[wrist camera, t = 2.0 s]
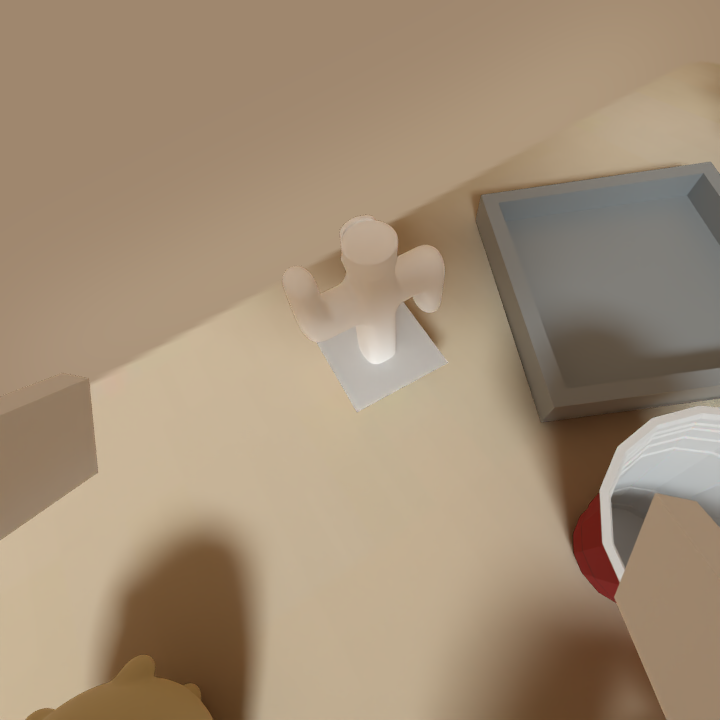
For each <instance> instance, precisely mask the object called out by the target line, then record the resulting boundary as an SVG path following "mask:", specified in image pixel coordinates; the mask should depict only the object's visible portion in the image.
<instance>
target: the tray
mask: <svg viewBox="0 0 720 720" xmlns="http://www.w3.org/2000/svg"><path fill="white" fill-rule="evenodd" d="M476 223H477V226H478V229H479V232H480V235H481V238H482V241H483V245H484V248H485V251H486V254H487V257H488V260H489V263H490V266H491V269H492V272H493V275H494V279H495V282H496V285H497V288H498V291H499V294H500V297H501V300H502V303H503V306H504V309H505V313H506V316H507V319H508V322H509V325H510V328H511V331H512V334H513V337H514V340H515V343H516V347H517V350H518V353H519V356H520V359H521V362H522V365H523V368H524V371H525V374H526V377H527V381H528V384H529V387H530V390H531V393H532V396H533V399H534V402H535V405H536V408H537V412H538V415H539V418H540V421H541V422H547V421H555V420H562V419H570V418H577V417H585V416H592V415H599V414H607V413H614V412H622V411H629V410H637V409H644V408H652V407H659V406H667V405H674V404H681V403H689V402H696V401H704V400H711V399H719V398H720V174H719V172H718V171H717V170H716V168H715V167H714V165H713V164H712V163H711V162H706V163H699V164H692V165H685V166H678V167H671V168H664V169H657V170H650V171H643V172H636V173H630V174H623V175H616V176H609V177H602V178H595V179H588V180H581V181H574V182H567V183H560V184H554V185H547V186H540V187H533V188H526V189H519V190H512V191H505V192H498V193H491V194H484V195H481V198H480V203H479V207H478V212H477V217H476Z"/></svg>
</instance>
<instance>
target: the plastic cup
mask: <svg viewBox="0 0 720 720" xmlns="http://www.w3.org/2000/svg"><path fill="white" fill-rule="evenodd" d="M655 493H658V494H663V495H668V496H673V497H677V498H682V499H687V500H692V501H697V502H698V504H699V505H700V506H701V507H702V508H703V509H704V510H705V512H706V513H707V514H708V515H709V516H710V517H711V518H712V520H713V521H714V522H715V523H716V524H717V525H718V526H719V528H720V408H718V407H708V406H696V407H692V408H688V409H685V410H681V411H677V412H673V413H669V414H665V415H662V416H658V417H654V418H651V419H650V420H649V421H648V422H647V423H645V424H644V425H643V426H642V427H641V428H639V429H638V430H637V431H636V432H635V433H633V434H632V435H631V436H630V437H628V438H627V439H626V440H625V441H624V442H622V443H621V444H620V445H619V446H618V447H617V449H616V451H615V454H614V456H613V459H612V461H611V463H610V466H609V468H608V471H607V473H606V475H605V478H604V480H603V483H602V485H601V488H600V491H599V493H598V495H597V496H596V497H595V498H594V499H593V500H592V501H591V503H590V504H589V506H588V509H587V510H586V511H585V512H584V513H583V514H582V515H581V516H580V518H579V520H578V523H577V525H576V528H575V530H574V533H573V546H574V555H575V558H576V560H577V563H578V565H579V567H580V570H581V572H582V574H583V575H584V576H585V577H586V578H587V579H588V581H589V582H590V583H591V584H592V585H593V586H594V588H595V589H596V590H597V591H598V592H599V593H601V594H602V595H604V596H605V597H607V598H609V599H610V600H612V601H614V602H615V603H616V601H615V598H614V596H615V594H616V591H617V589H618V586H619V583H620V581H621V578H622V576H623V573H624V571H625V568H626V566H627V563H628V561H629V558H630V555H631V553H632V550H633V548H634V545H635V543H636V540H637V538H638V535H639V532H640V530H641V527H642V525H643V522H644V520H645V517H646V515H647V512H648V510H649V507H650V504H651V502H652V499H653V497H654V494H655Z"/></svg>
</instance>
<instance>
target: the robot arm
mask: <svg viewBox="0 0 720 720" xmlns="http://www.w3.org/2000/svg"><path fill="white" fill-rule="evenodd" d="M96 473H98V466H97V456H96V445H95V435H94V425H93V415H92V404H91V394H90V384H89V378H86V377H81V376H76V375H71V374H66V373H61V374H58V375H56V376H53V377H50V378H48V379H45V380H42V381H40V382H37V383H34V384H32V385H29V386H27V387H24V388H21V389H19V390H16V391H13V392H11V393H8V394H5V395H3V396H0V540H1V539H3V538H4V537H6V536H7V535H9V534H10V533H11V532H13V531H14V530H16V529H17V528H19V527H20V526H21V525H23V524H24V523H26V522H27V521H29V520H30V519H32V518H33V517H34V516H36V515H37V514H39V513H40V512H42V511H43V510H45V509H46V508H47V507H49V506H50V505H52V504H53V503H55V502H56V501H58V500H59V499H60V498H62V497H63V496H65V495H66V494H68V493H69V492H70V491H72V490H73V489H75V488H76V487H78V486H79V485H81V484H82V483H83V482H85V481H86V480H88V479H89V478H91V477H92V476H94V475H95V474H96ZM614 598H615V601H616V603H617V605H618V608H619V610H620V612H621V615H622V617H623V619H624V622H625V624H626V626H627V629H628V631H629V634H630V636H631V638H632V641H633V643H634V645H635V648H636V650H637V652H638V655H639V657H640V659H641V662H642V664H643V666H644V669H645V671H646V673H647V676H648V678H649V680H650V683H651V685H652V687H653V690H654V692H655V694H656V697H657V699H658V701H659V704H660V706H661V708H662V711H663V713H664V716H665V718H666V720H720V528H719V526H718V525H717V524H716V523H715V522H714V521H713V520H712V518H711V517H710V516H709V515H708V514H707V513H706V512H705V510H704V509H703V508H702V507H701V506H700V505H699V504H698V502H697V501H692V500H687V499H682V498H677V497H673V496H668V495H663V494H658V493H655V494H654V497H653V499H652V502H651V504H650V507H649V510H648V512H647V515H646V517H645V520H644V522H643V525H642V527H641V530H640V532H639V535H638V538H637V540H636V543H635V545H634V548H633V550H632V553H631V555H630V558H629V561H628V563H627V566H626V568H625V571H624V573H623V576H622V578H621V581H620V583H619V586H618V589H617V591H616V594H615V596H614Z"/></svg>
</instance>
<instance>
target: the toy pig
mask: <svg viewBox="0 0 720 720" xmlns="http://www.w3.org/2000/svg"><path fill="white" fill-rule="evenodd" d="M154 673H155V662H154V660H153V659H152V658H151V657H150V656H148V655H138V656H136V657H134V658H133V659H131V660H130V661H129V662H128V663H127V664H126V665H125V666H124V667H123V668H122V669H121V671H120V672H119V673H118V674H117V676H116V677H115V678H114V679H113V680H112V681H110V682H108V683H105V684H102V685H99V686H96V687H94V688H92V689H89V690H87V691H85V692H83V693H81V694H79V695H77V696H76V697H74V698H72V699H70V700H69V701H67V702H66V703H64V704H63V705H61V706H60V707H58V708H57V709H56V710H55V709H50V708H44V709H40V710H37V711H35V712H33V713H32V714H31V715H29V716H28V717H27V718H26V720H213V718H212V716H211V715H210V713H209V711H208V710H207V708H206V707H205V705H204V704H203V703H202V702H201V691H200V689H199V687H198V686H197V685H195V684H193V683H188V684H185V685H181V684H179V683H177V682H174V681H171V680H168V679H164V678H159V677H155V676H154Z"/></svg>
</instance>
